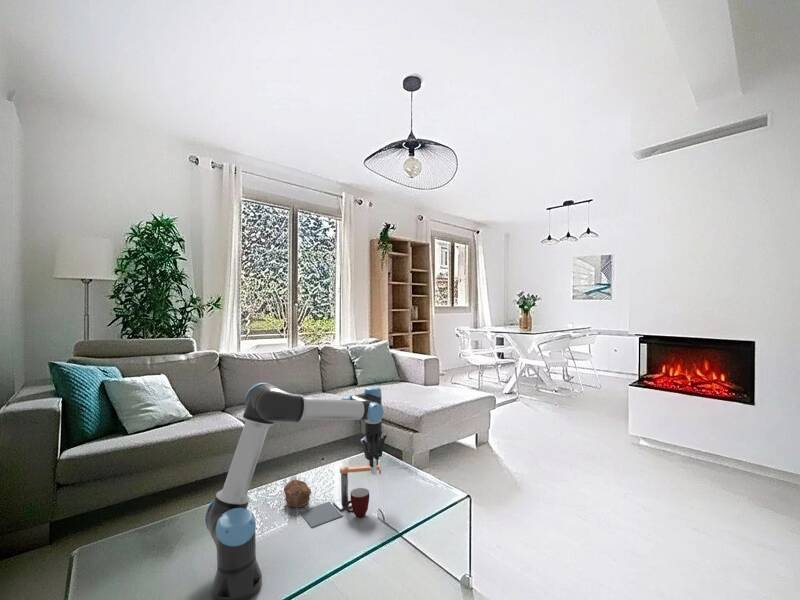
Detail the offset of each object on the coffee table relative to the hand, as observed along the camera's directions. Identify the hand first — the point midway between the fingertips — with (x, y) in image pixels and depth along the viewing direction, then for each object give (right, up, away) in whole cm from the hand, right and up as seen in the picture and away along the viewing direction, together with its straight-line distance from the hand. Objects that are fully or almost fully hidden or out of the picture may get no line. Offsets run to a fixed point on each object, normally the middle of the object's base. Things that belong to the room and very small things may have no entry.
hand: (373, 473), depth 175 cm
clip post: (-13, -15, +1) cm, 20 cm away
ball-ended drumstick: (-6, -1, +2) cm, 7 cm away
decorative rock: (-35, -15, +3) cm, 38 cm away
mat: (-23, -15, -7) cm, 28 cm away
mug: (-6, -15, -9) cm, 18 cm away
